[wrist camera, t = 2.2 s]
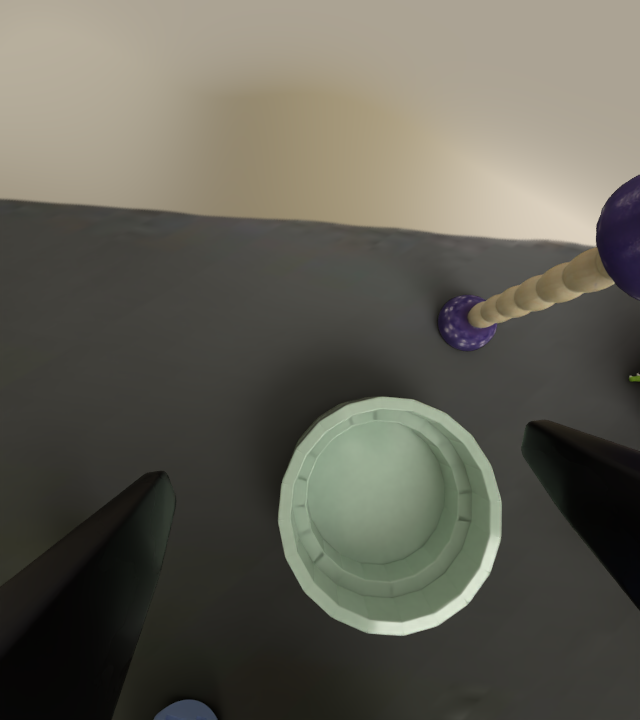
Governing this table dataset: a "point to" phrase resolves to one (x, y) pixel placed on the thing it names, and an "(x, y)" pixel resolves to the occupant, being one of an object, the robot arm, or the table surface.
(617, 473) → the robot arm
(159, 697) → the table surface
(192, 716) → the decorative dice
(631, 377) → the pig swing toy
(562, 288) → the toy lamp
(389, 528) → the basin
